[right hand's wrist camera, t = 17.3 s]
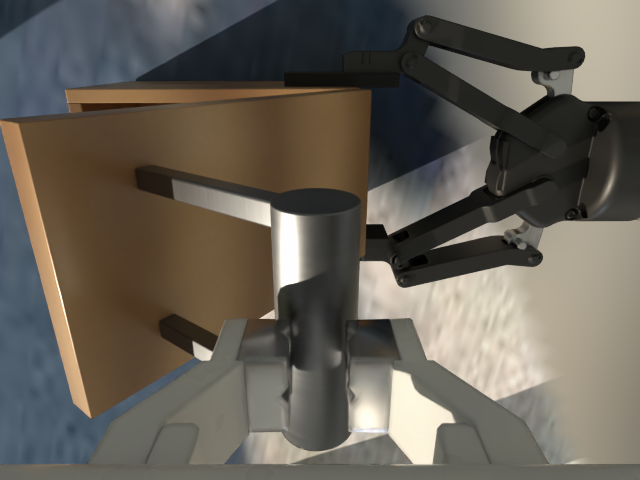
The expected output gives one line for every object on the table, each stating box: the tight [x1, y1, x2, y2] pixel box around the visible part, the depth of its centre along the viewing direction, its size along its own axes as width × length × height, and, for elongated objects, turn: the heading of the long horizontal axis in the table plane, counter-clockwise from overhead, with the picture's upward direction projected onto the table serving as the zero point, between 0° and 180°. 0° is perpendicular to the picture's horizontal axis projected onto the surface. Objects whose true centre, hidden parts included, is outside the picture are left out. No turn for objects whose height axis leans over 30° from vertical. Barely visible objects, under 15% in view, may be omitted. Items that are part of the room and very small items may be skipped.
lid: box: [0, 89, 372, 451], centre depth 17 cm, size 16×9×9 cm
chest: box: [65, 81, 360, 113], centre depth 30 cm, size 16×9×9 cm, turn 90°
